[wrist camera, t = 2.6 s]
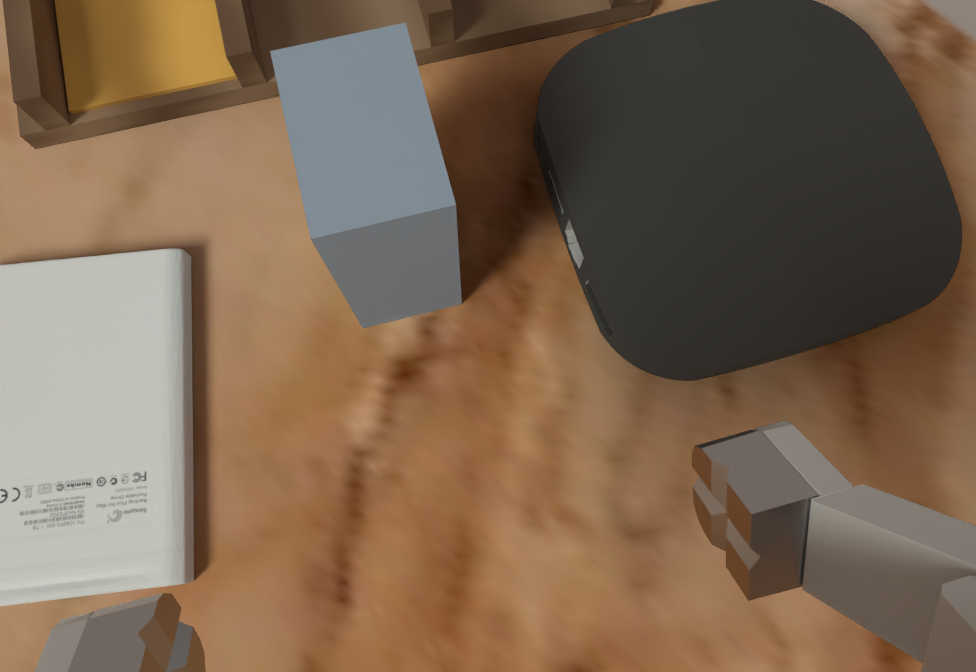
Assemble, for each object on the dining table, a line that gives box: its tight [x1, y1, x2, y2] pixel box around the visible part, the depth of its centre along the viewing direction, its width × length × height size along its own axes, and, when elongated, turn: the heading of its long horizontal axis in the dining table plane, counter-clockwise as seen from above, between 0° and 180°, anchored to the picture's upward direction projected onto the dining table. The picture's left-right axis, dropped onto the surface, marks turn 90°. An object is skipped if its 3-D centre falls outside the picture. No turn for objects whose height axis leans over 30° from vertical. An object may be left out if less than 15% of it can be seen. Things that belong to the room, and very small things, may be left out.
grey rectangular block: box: [270, 22, 462, 328], centre depth 24 cm, size 4×6×9 cm, turn 15°
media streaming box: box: [534, 0, 962, 381], centre depth 28 cm, size 15×15×3 cm
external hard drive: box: [0, 248, 194, 606], centre depth 26 cm, size 2×8×12 cm
